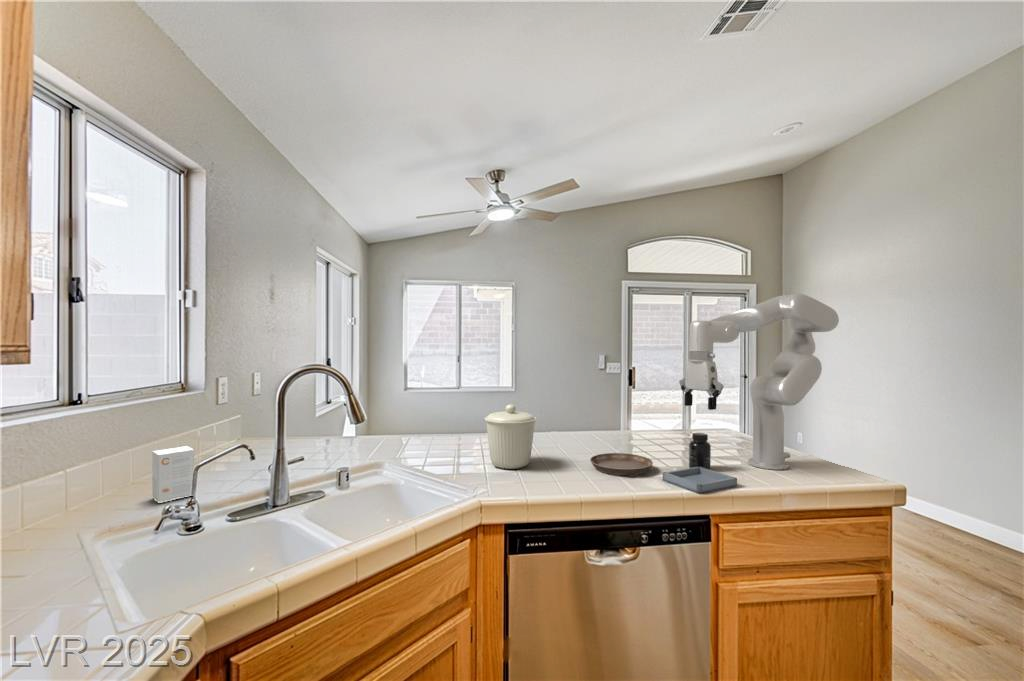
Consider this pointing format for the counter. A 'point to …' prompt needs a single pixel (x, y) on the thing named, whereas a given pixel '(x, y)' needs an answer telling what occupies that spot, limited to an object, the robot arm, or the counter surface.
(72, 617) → the counter surface
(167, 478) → the small box
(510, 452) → the canister
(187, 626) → the counter surface
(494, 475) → the counter surface
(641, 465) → the plant saucer
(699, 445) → the supplement bottle
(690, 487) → the tray
